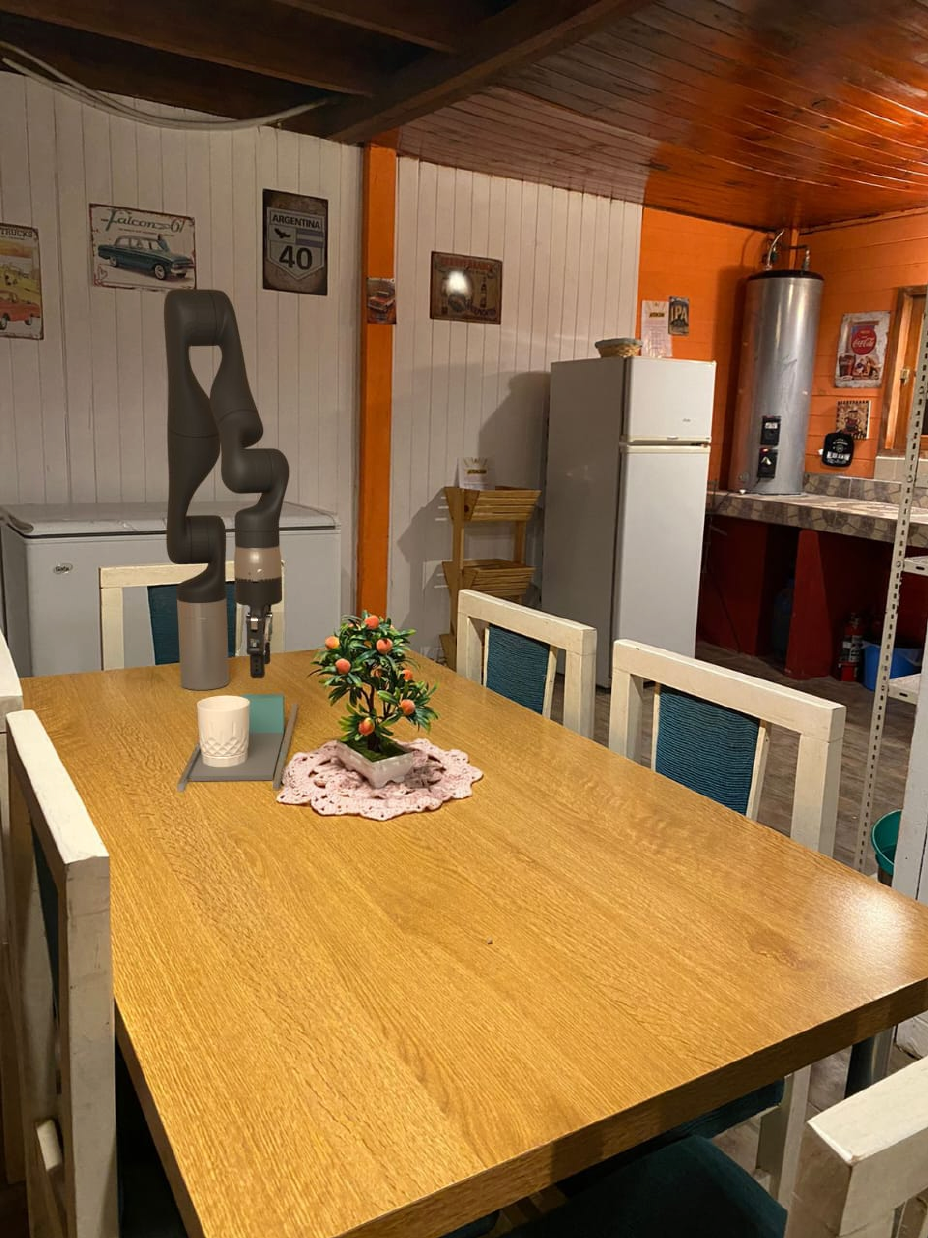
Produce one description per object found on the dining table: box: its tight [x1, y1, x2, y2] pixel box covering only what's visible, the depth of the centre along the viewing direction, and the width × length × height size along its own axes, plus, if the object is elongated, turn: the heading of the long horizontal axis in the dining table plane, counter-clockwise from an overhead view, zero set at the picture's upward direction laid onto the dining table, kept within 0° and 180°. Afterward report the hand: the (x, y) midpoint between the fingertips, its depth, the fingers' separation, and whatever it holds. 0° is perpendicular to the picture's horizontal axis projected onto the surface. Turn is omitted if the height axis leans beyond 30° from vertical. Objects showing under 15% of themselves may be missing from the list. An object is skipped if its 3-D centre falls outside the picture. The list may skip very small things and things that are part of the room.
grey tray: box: [189, 693, 286, 782], centre depth 155 cm, size 22×12×7 cm, turn 5°
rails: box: [176, 701, 299, 793], centre depth 160 cm, size 38×14×1 cm, turn 5°
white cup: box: [196, 695, 250, 767], centre depth 150 cm, size 8×8×10 cm
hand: (260, 670), depth 161 cm, fingers open, 8 cm apart
